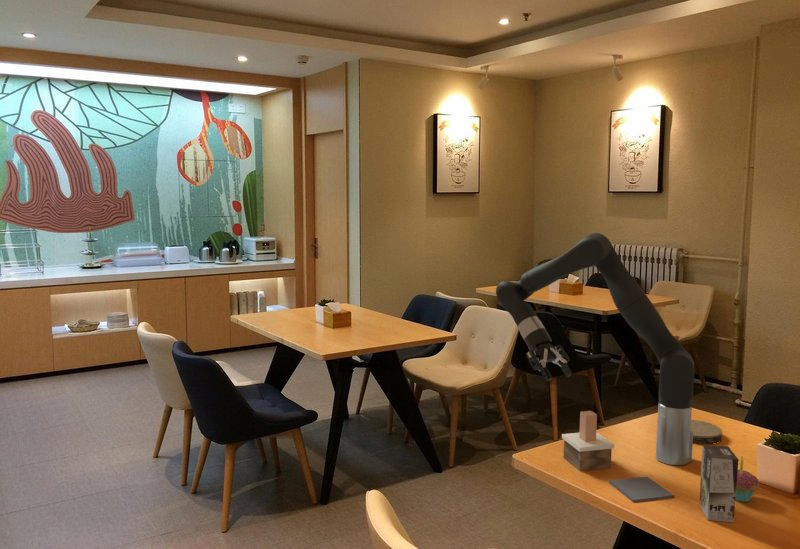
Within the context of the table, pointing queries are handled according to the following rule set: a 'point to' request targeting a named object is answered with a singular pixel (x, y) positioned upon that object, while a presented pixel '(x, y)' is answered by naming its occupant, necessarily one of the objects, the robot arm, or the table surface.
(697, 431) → the tin can
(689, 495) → the table surface
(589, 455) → the box
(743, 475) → the cupcake
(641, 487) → the mat
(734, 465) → the coffee box
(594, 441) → the lid
